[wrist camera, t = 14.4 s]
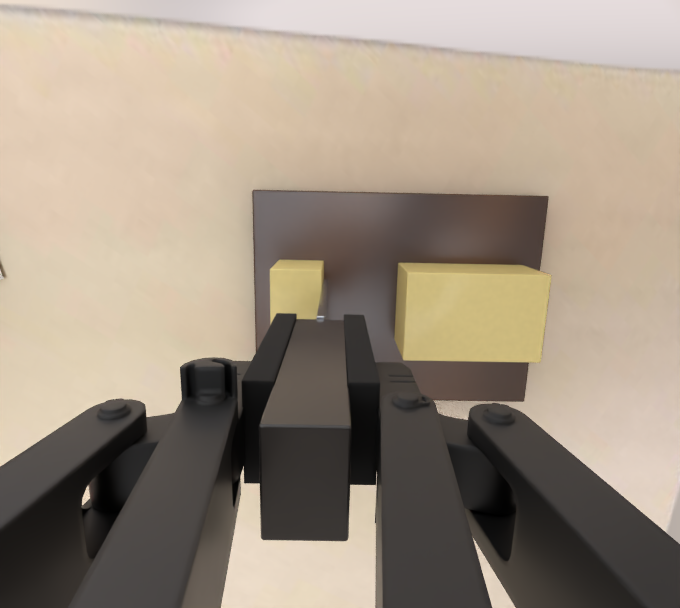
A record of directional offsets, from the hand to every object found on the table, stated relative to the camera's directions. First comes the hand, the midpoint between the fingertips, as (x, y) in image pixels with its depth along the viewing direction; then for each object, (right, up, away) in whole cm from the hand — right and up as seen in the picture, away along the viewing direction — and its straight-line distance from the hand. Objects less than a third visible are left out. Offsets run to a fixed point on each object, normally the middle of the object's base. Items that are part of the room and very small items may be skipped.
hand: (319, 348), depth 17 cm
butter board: (+4, +2, +10) cm, 10 cm away
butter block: (+7, +2, +9) cm, 11 cm away
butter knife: (0, +2, +7) cm, 8 cm away
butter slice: (-1, +2, +8) cm, 9 cm away
